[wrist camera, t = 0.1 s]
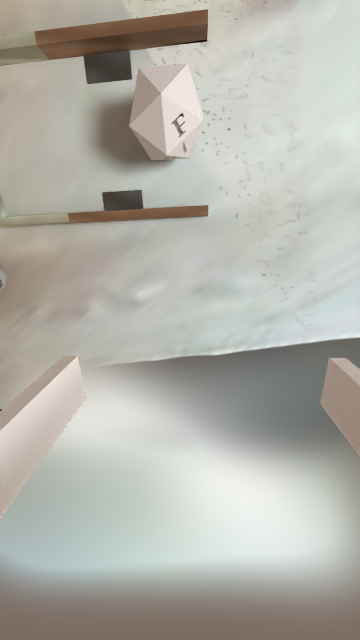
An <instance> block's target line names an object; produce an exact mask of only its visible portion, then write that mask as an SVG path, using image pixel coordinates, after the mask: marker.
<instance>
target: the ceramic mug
mask: <svg viewBox="0 0 360 640" xmlns="http://www.w3.org/2000/svg"><path fill="white" fill-rule="evenodd" d="M0 280H1V283H2V284H0V291H1V290H2V289H3V288H4V287H5V285H6V283H7V276H6V274H5V273H4V272H3V270H1V269H0Z"/></svg>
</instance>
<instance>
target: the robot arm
mask: <svg viewBox="0 0 360 640" xmlns="http://www.w3.org/2000/svg"><path fill="white" fill-rule="evenodd" d="M85 399H86V397H85V392H84V387H83V382H82V377H81V372H80V367H79V362H78V357H77V356H63V357H62V358H61V359H60V360H59V361H58V362H57V363H55V364H54V365H53V366H52V367H51V368H50V369H48V370H47V371H46V372H45V373H44V374H43V375H42V376H40V377H39V378H38V379H37V380H36V381H35V382H34V383H33V384H31V385H30V386H29V387H28V388H27V389H25V390H24V391H23V392H22V393H21V394H20V395H19V396H18V397H16V398H15V399H14V400H13V401H12V402H11V403H9V404H8V405H7V406H6V407H5V408H4V409H2V410H1V409H0V519H1V517H2V515H3V514H4V513H5V512H6V510H7V509H8V507H9V506H10V505H11V503H12V501H13V500H14V499H15V497H16V496H17V495H18V493H19V492H20V490H21V489H22V488H23V486H24V485H25V483H26V482H27V480H28V479H29V477H30V476H31V475H32V473H33V472H34V471H35V469H36V468H37V466H38V465H39V464H40V462H41V461H42V459H43V458H44V456H45V455H46V454H47V452H48V451H49V449H50V448H51V446H52V445H53V444H54V442H55V441H56V440H57V438H58V437H59V435H60V434H61V432H62V431H63V430H64V428H65V427H66V425H67V424H68V423H69V421H70V420H71V418H72V417H73V415H74V414H75V413H76V411H77V410H78V408H79V407H80V406H81V404H82V403H83V401H84V400H85ZM320 404H321V405H322V406H323V408H324V409H325V411H326V412H327V413H328V415H329V416H330V417H331V419H332V420H333V421H334V422H335V424H336V425H337V427H338V428H339V429H340V431H341V432H342V433H343V435H344V436H345V437H346V438H347V440H348V441H349V443H350V444H351V445H352V447H353V448H354V449H355V451H356V452H357V453H358V455H359V456H360V369H359V368H357V367H356V366H355V365H354V364H352V363H351V362H350V361H349V360H347V359H346V358H329V363H328V368H327V373H326V377H325V382H324V387H323V392H322V397H321V402H320Z"/></svg>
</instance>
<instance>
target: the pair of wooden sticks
mask: <svg viewBox="0 0 360 640" xmlns="http://www.w3.org/2000/svg"><path fill="white" fill-rule="evenodd" d="M207 30H208V10H200V11H192V12H184V13H176V14H168V15H161V16H153V17H145V18H137V19H129V20H122V21H114V22H106V23H98V24H90V25H82V26H75V27H67V28H59V29H51V30H43V31H35V32H28V33H20V34H12V35H4V36H0V65H8V64H16V63H25V62H34V61H42V60H51V59H59V58H68V57H77V56H85V63H86V71H87V78H88V83H89V84H90V83H100V82H109V81H119V80H128V79H132V74H131V62H130V51H129V50H137V49H145V48H154V47H163V46H171V45H180V44H188V43H197V42H206V41H207ZM103 197H104V204H105V211H99V212H82V213H64V214H47V215H29V216H12V217H6V215H5V211H4V208H3V204H2V200H1V196H0V227H12V226H31V225H50V224H69V223H88V222H107V221H125V220H144V219H163V218H182V217H201V216H208V205H205V206H187V207H170V208H152V209H143V202H142V190H134V191H119V192H103Z"/></svg>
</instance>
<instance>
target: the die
mask: <svg viewBox="0 0 360 640" xmlns="http://www.w3.org/2000/svg"><path fill="white" fill-rule="evenodd" d="M202 122H203V115H202V109H201V105H200V102H199V99H198V96H197V92H196V89H195V86H194V83H193V79H192V76H191V73H190V70H189V67H188V64H179V65H168V66H157V67H146V68H139V70H138V76H137V82H136V88H135V93H134V99H133V105H132V111H131V116H130V122H129V127H130V128H131V130H132V131H133V133H134V134H135V136H136V138H137V139H138V141H139V142H140V144H141V145H142V147H143V148H144V150H145V151H146V153H147V154H148V156H149V157H150V159H151V160H165V159H182V158H190V157H191V154H192V151H193V148H194V145H195V142H196V139H197V136H198V133H199V130H200V127H201V125H202Z"/></svg>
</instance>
